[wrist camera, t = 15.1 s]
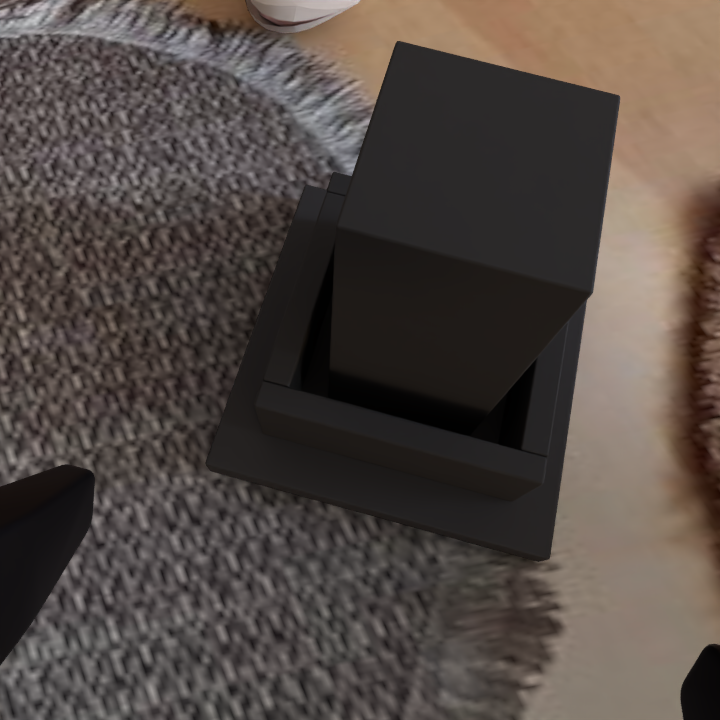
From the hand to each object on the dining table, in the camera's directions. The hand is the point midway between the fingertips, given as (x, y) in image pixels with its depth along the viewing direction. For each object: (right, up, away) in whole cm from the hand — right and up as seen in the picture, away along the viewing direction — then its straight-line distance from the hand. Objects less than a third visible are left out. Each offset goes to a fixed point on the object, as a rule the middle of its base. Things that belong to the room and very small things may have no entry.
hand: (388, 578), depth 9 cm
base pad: (+1, +3, +13) cm, 14 cm away
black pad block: (+1, +3, +13) cm, 13 cm away
